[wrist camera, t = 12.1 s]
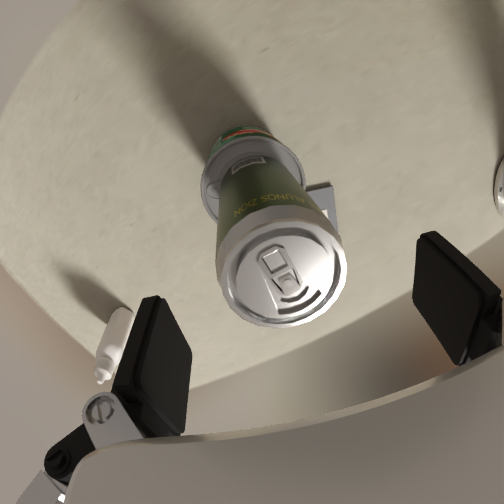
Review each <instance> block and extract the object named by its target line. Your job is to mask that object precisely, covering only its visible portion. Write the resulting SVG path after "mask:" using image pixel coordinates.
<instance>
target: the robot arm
mask: <svg viewBox="0 0 504 504" xmlns="http://www.w3.org/2000/svg"><path fill="white" fill-rule="evenodd" d="M494 197H495V204H496V207H497V210H498V212H499V213H500V214H501V215H502V216H503V217H504V158H503V160H502V161H501V163H500V166H499V168H498V171H497V175H496V180H495V187H494ZM500 294H501V290H500V289H499V288H498V287H497V286H496V285H495V284H494V283H493V282H492V281H491V280H490V279H489V278H488V277H487V276H486V275H485V274H484V273H483V272H482V271H481V270H480V269H479V268H478V267H476V266H475V265H474V264H473V263H472V262H471V261H470V260H469V259H468V258H467V257H466V256H464V255H463V254H462V253H461V252H460V251H459V250H458V249H457V248H455V247H454V246H453V245H452V244H451V243H450V242H448V241H447V240H446V239H445V238H444V237H443V236H441V235H440V234H439V233H438V232H436V231H430V232H427V233H423V234H421V235H420V238H419V239H418V240H417V245H416V262H415V274H414V285H413V294H412V299H413V303H414V305H415V306H416V308H417V309H418V310H419V312H420V313H421V315H422V316H423V317H424V319H425V320H426V322H427V323H428V325H429V326H430V328H431V329H432V331H433V332H434V334H435V335H436V337H437V338H438V340H439V341H440V343H441V344H442V346H443V347H444V349H445V350H446V352H447V354H448V355H449V357H450V358H451V360H452V361H453V363H454V364H455V365H459V367H457V368H455V369H453V370H451V371H448V372H447V373H444V374H442V375H439V376H437V377H435V378H432V379H430V380H428V381H425V382H423V383H420V384H418V385H415V386H412V387H410V388H407V389H405V390H402V391H399V392H396V393H393V394H390V395H388V396H385V397H382V398H379V399H376V400H373V401H369V402H366V403H363V404H360V405H357V406H353V407H350V408H346V409H342V410H339V411H335V412H331V413H327V414H323V415H319V416H315V417H310V418H306V419H301V420H296V421H292V422H287V423H282V424H276V425H270V426H264V427H258V428H252V429H245V430H237V431H229V432H220V433H210V434H201V435H187V436H180V434H181V433H183V432H184V431H185V423H186V412H187V402H188V392H189V382H190V373H191V364H192V352H191V349H190V347H189V345H188V343H187V341H186V339H185V337H184V335H183V333H182V331H181V329H180V328H179V326H178V324H177V322H176V320H175V318H174V316H173V314H172V312H171V310H170V308H169V306H168V303H167V301H166V300H165V299H164V298H162V299H161V298H160V297H159V296H158V295H156V296H152V297H147V298H143V299H142V302H141V304H140V307H139V309H138V312H137V315H136V318H135V320H134V323H133V326H132V329H131V331H130V334H129V337H128V340H127V343H126V346H125V349H124V351H123V354H122V357H121V360H120V363H119V367H118V370H117V373H116V376H115V379H114V383H113V387H112V390H111V393H110V392H102V393H98V394H96V395H94V396H93V397H91V398H90V399H89V400H88V401H87V403H86V404H85V406H84V408H83V410H82V419H83V422H84V423H83V424H82V425H81V426H79V427H78V428H76V429H75V430H74V431H73V432H71V433H70V434H69V435H67V436H66V437H65V438H63V439H62V440H61V441H59V442H58V443H57V444H55V445H54V446H53V447H52V448H51V449H50V450H49V451H48V452H47V454H46V456H45V460H44V466H45V471H44V472H43V471H42V470H40V472H39V473H38V474H37V475H36V477H35V478H34V479H33V481H32V482H31V483H30V485H29V486H28V487H27V489H26V490H25V491H24V492H23V494H22V495H21V496H20V498H19V499H18V501H17V503H16V504H504V298H501V296H500Z"/></svg>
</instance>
